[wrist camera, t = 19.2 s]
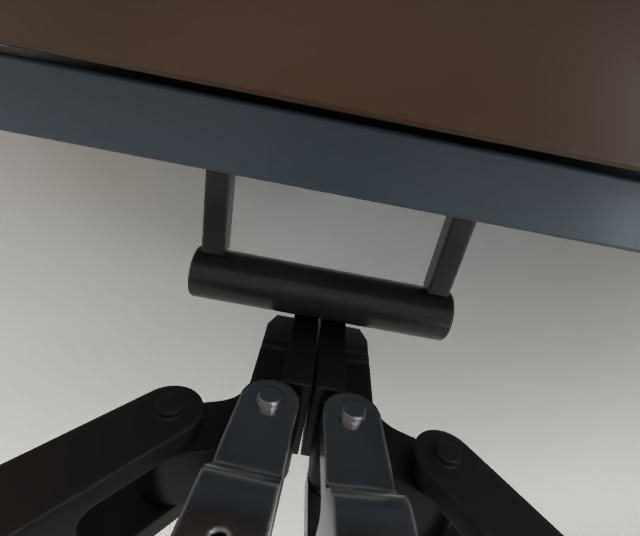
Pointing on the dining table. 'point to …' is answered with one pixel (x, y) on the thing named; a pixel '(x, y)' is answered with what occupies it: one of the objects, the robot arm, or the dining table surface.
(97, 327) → the dining table surface
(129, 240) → the dining table surface
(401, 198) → the drawer
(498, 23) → the cabinet
